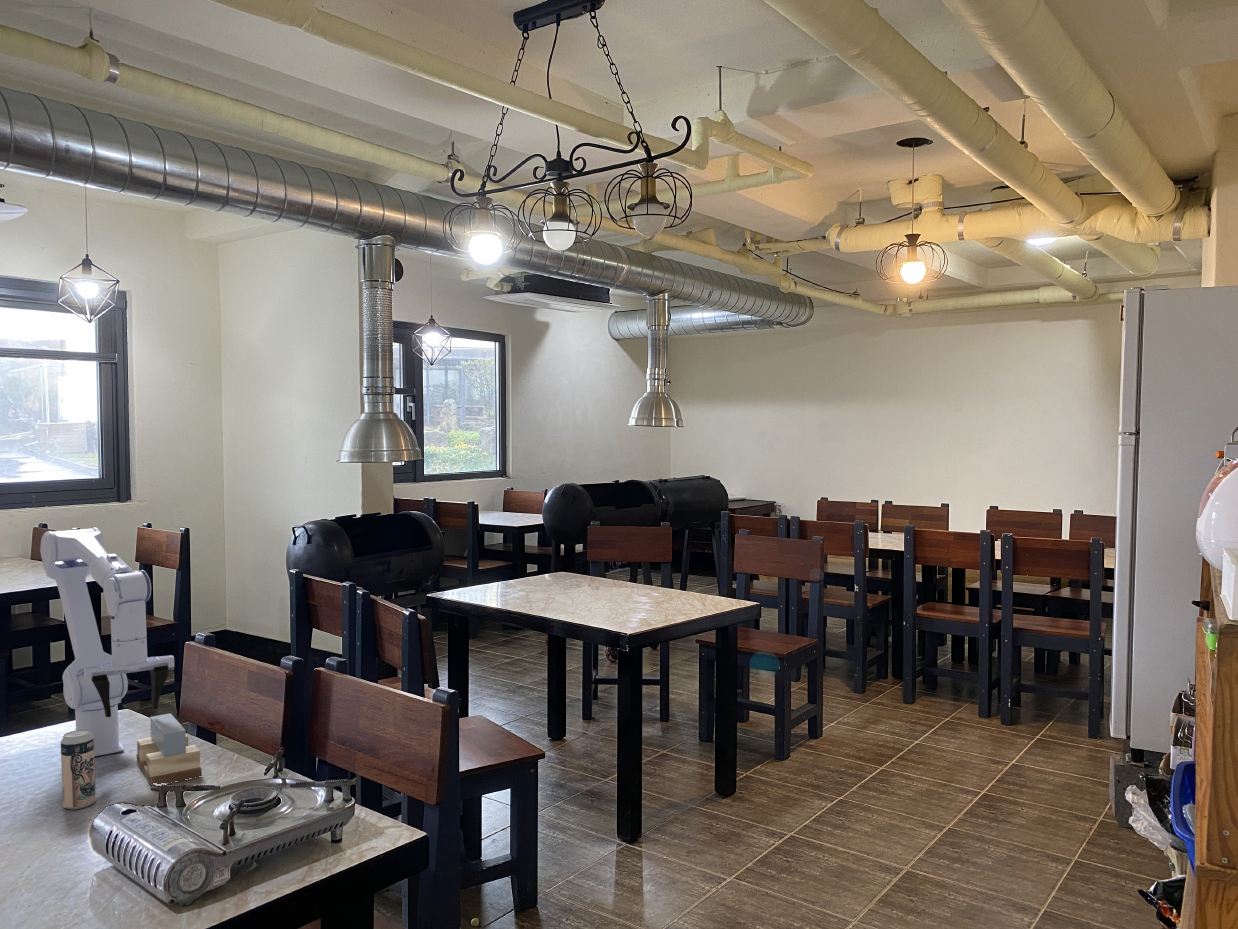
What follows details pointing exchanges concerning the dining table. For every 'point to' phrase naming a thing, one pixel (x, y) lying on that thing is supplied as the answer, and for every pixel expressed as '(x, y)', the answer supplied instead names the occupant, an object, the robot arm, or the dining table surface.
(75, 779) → the tea canister
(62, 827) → the dining table surface
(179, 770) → the display stand
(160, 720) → the grey rectangular block
